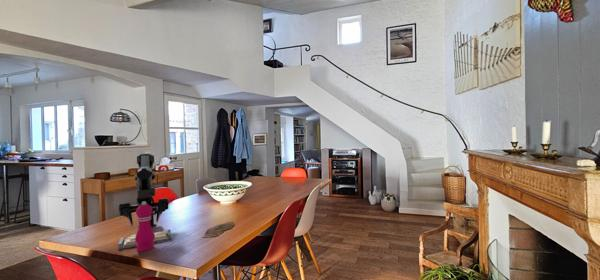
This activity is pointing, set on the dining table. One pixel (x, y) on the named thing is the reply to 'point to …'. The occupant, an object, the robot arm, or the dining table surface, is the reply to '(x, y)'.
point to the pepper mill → (144, 228)
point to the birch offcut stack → (157, 237)
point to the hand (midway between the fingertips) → (144, 223)
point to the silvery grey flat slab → (121, 244)
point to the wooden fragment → (218, 229)
